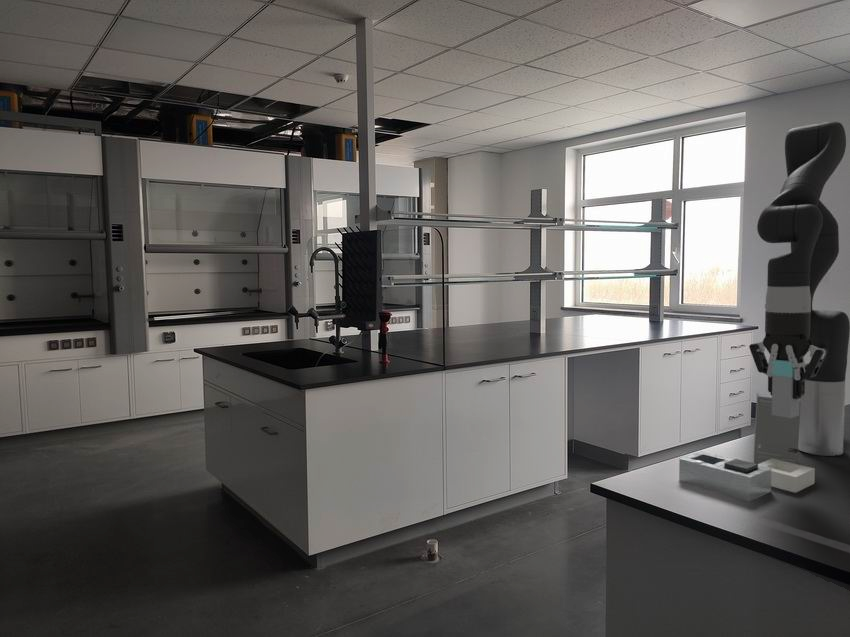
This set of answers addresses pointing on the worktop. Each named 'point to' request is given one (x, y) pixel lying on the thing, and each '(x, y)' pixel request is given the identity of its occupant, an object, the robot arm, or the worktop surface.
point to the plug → (783, 390)
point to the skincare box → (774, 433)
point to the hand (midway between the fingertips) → (785, 396)
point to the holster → (789, 475)
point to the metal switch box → (725, 475)
